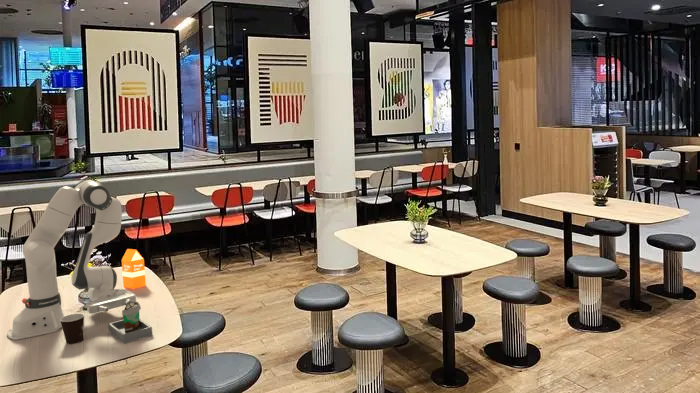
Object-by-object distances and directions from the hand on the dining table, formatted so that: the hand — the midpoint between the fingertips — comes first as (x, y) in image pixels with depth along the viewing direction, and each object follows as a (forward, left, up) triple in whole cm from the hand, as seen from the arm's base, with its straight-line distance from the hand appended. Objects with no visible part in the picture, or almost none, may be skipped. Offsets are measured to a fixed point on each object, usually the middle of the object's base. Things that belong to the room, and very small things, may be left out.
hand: (117, 307), depth 239 cm
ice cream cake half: (+3, -11, -7) cm, 13 cm away
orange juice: (+25, +50, -8) cm, 56 cm away
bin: (0, -13, -8) cm, 15 cm away
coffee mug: (-18, -3, -8) cm, 20 cm away
